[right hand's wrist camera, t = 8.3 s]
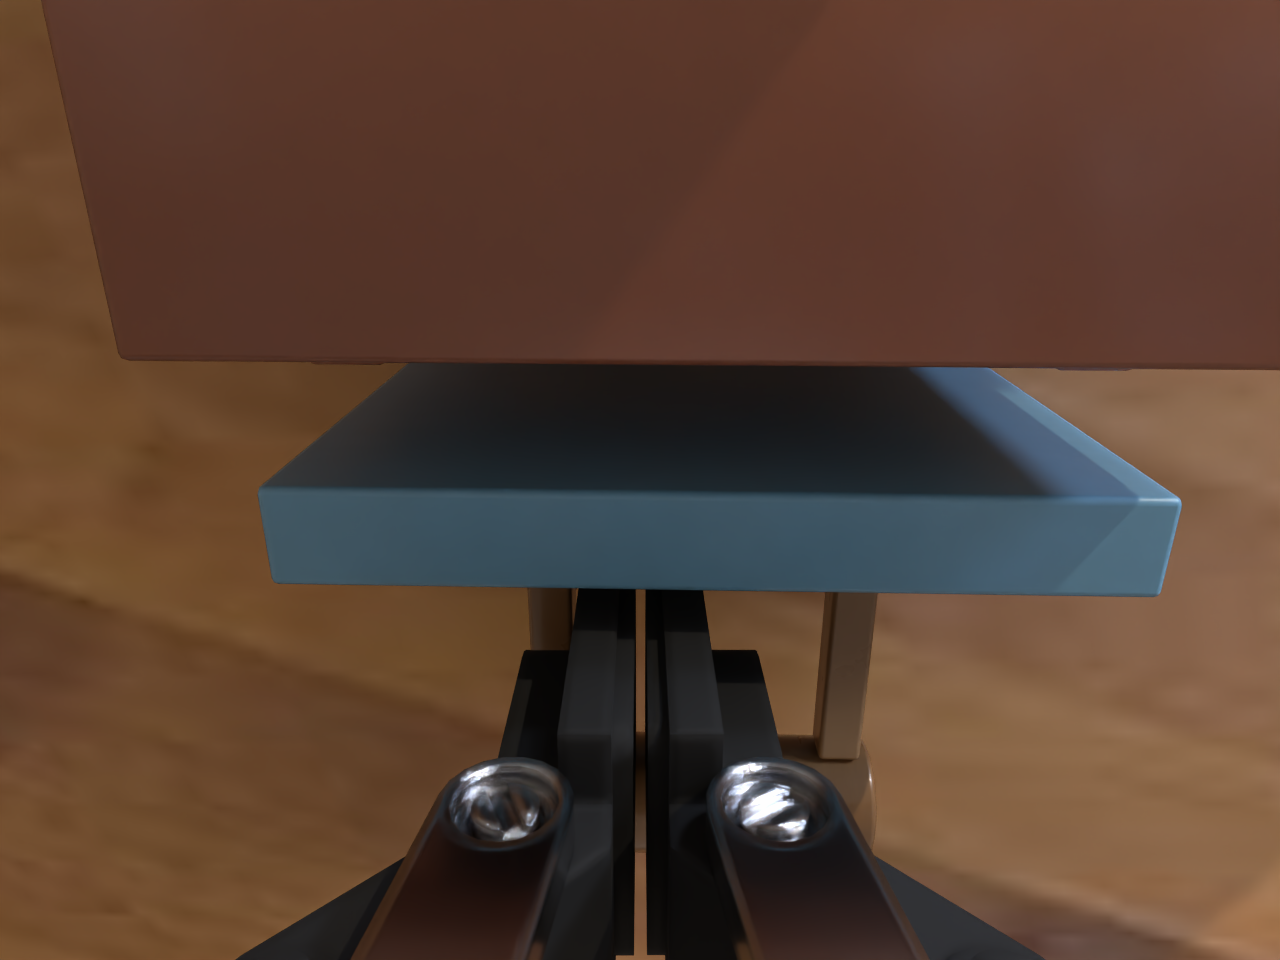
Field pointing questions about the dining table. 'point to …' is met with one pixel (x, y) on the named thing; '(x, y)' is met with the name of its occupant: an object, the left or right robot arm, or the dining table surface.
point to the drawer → (720, 502)
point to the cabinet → (682, 180)
